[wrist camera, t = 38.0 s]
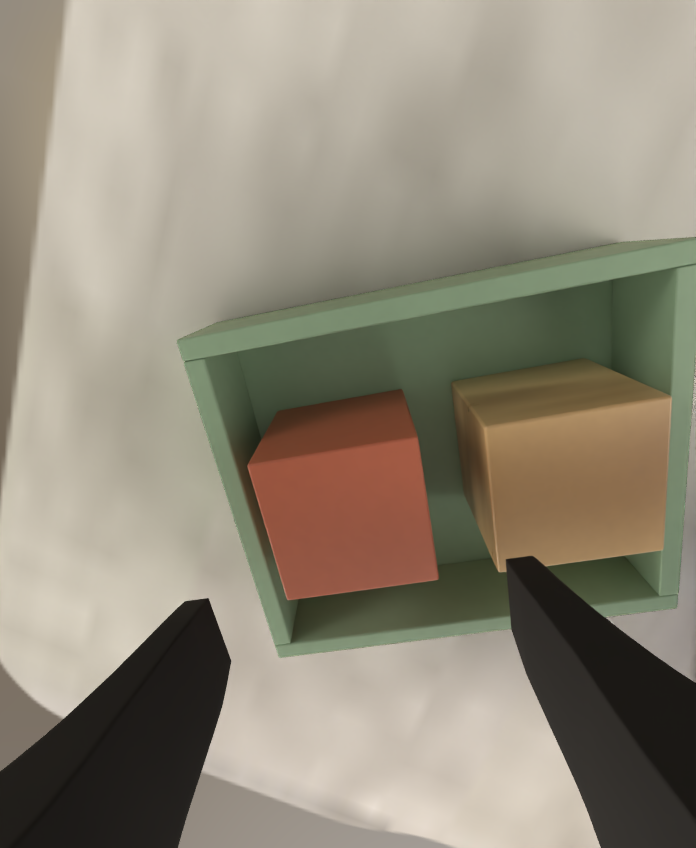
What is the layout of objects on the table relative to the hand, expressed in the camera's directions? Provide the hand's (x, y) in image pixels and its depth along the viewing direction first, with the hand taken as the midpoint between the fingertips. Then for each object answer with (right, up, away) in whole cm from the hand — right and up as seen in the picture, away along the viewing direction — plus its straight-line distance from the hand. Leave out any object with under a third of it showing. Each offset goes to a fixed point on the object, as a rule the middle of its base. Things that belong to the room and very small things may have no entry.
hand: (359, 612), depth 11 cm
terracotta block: (0, +3, +5) cm, 6 cm away
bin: (+3, +4, +6) cm, 7 cm away
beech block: (+6, +4, +5) cm, 9 cm away
